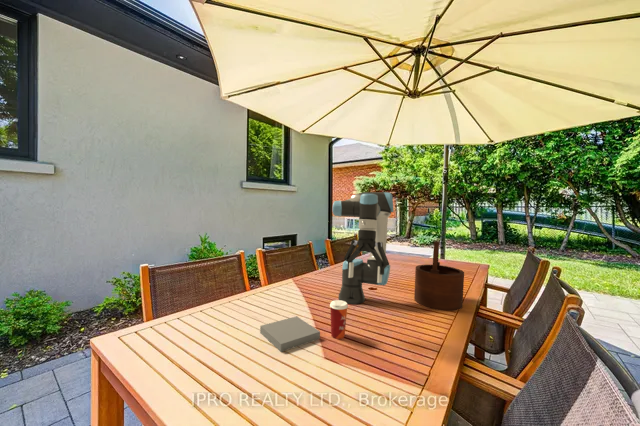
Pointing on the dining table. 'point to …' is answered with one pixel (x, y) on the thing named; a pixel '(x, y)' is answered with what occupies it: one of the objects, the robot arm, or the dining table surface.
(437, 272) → the wooden bucket
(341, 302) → the paper cup
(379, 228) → the robot arm
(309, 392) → the dining table surface
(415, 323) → the dining table surface
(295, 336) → the slate tile
